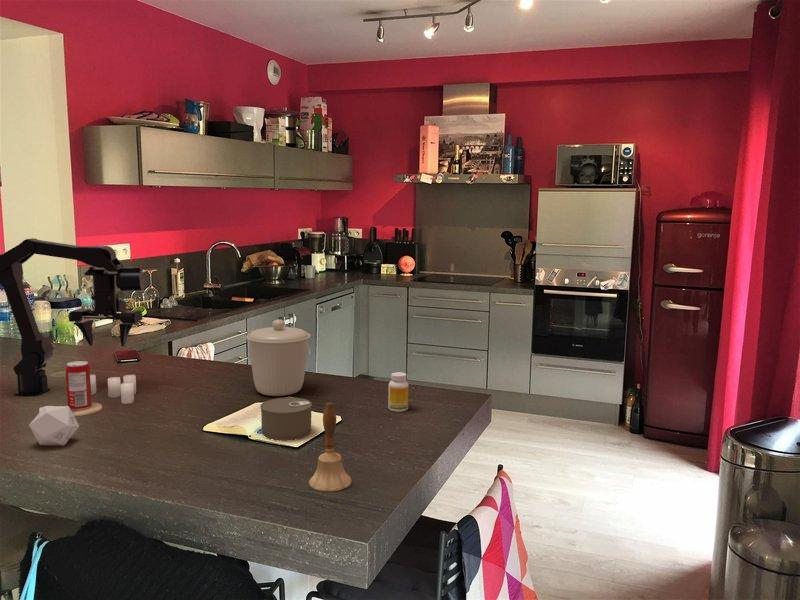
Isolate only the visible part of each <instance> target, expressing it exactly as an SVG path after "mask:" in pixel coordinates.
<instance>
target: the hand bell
mask: <svg viewBox="0 0 800 600" xmlns="http://www.w3.org/2000/svg"><path fill="white" fill-rule="evenodd" d="M322 424H323V425H322V426H323V431H324V434H325V446H324V448H325V449H324V451H325V452H324V453H322V454H320V455H319V456H318V460H317V466H316V470H315V472H314V474H313V476H311V477H310V479H309V481H308V485H309V487H310V488H312V489H314V490H316V491H319V492H337V491H338V492H339V491H342V490H344V489H347V488H348V487H350V486H351V485H352V478H351V476H350V475H349V474H347V472H346V471H345V469H344V464H343V458H342V456H341V454H340V453H337V452H335V438H334V437H335V431H336V426H337V413H336V411H335V407H334V404H333V402H330V401H329V402H326V403H325V408H324V411H323V414H322Z"/></svg>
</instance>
